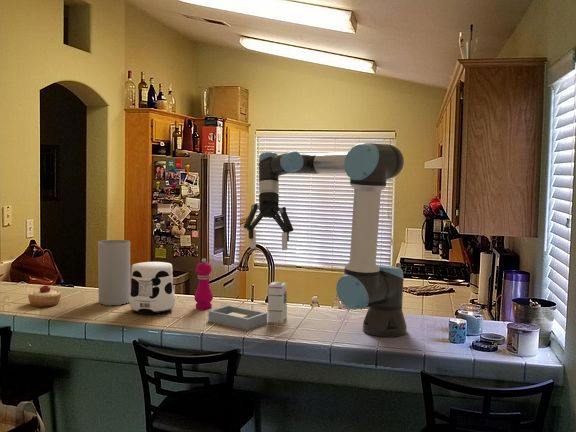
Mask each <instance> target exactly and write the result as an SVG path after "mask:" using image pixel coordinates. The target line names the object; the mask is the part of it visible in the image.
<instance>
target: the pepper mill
mask: <svg viewBox="0 0 576 432" xmlns="http://www.w3.org/2000/svg"><path fill="white" fill-rule="evenodd" d="M195 270H196V273H197V279H198V286H197V289H196V290H195V293H194V301H195V302H196V303H195V309H196V311H197V310H198V311H209V310H212V301H213V299H214V296H213V292H212V290H211V287H210V279H211V274H210V273H211V272H212V266H211V264H210V263H209V262H207V259H206V258H202V259H201V262H199V263H198V264H197V265H196V269H195Z"/></svg>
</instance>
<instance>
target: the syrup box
mask: <svg viewBox="0 0 576 432" xmlns="http://www.w3.org/2000/svg"><path fill="white" fill-rule="evenodd" d="M267 287H268V288H267V289H268V291H267V292H268V294H267V296H268V297H267V298H268V299H267V303H268V304H267V305H268V306H267V307H268V309H267V311H268V312H267V323H277V324H285V322H286V321H287V319H288V316H287V312H288V311H287V310H288V309H287V307H288V306H287V305H288V304H287V303H288V302H287V301H288V299H287V298H288V297H287V294H288V291H287V287H288V285H287V282H282V281H272V282H271V283H269V284H268V285H267Z"/></svg>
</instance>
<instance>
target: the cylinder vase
mask: <svg viewBox="0 0 576 432" xmlns="http://www.w3.org/2000/svg"><path fill="white" fill-rule="evenodd" d="M97 266H98V268H97V269H98V270H97V273H98V274H97V277H98V285H97V286H98V303H99V304H100V305H102V304H103V305H102V306H107V305H117V306H122V305H121V304H124V305H127V304H129V296H130V292H131V241H130V240H128V239H127V240H126V239H106V240H99V241H97ZM126 303H127V304H126Z"/></svg>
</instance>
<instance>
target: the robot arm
mask: <svg viewBox="0 0 576 432" xmlns="http://www.w3.org/2000/svg"><path fill="white" fill-rule="evenodd" d="M404 158H405V157H404V155H403V153H402V151H401V150H400V149H399V148H398V147H397V146H395V145H392V144H388V143H373V142H363V143H357V144H355V145H353V146H352V147H351V148H350V149H349V150H348V151H346V152H328V153H327V152H325V153H324V152H323V153H300V152H298V151H297V150H291V151H287V152H284V153H281V154H278V153H276V152H273V151H267V152H262V153H260V155H259V156H258V192H259V194H258V203H259V204H257V203H254V204H251V208H250V211H249V214H248V216H247V219H246V220H245V222H244V224H243V229H246V231H248V239H249V240H250V242H249V243H250V249H256V247H257V242H256V241H257V240H256V239H257V238H256V237H257V235H256V232H257V230H256V229H255V228H256V227H257V226H258V224H259V223H260V222H261V221H262V219H263V218H269V219H272V220H275V222H276V223H277V225H278V227H280V229H281V230H282V233H281V251H287V250H288V242H289V240H290V233H291V232H293V231H294V227H293V225H292V223H291V220H290V218H289V216H288V213H287V207H286V206H283V207H280V206H279V203H280V195H279V192H280V190H279V189H280V188H279V185H280V184H279V179H280V177H281V176H282V175H283V176H285V175H287V174H311V175H312V174H314V175H315V174H346V176H347V177H348V178H349V185H350V186H351V188H352V189H353V191H354V192H353V206H352V222H351V235H350V250H349V261H348V263H346V264H345V265H344V271H343V275H341V276H340V277H339V279H337V282H336V285H335V289H336V290H335V291H336V294H337V298H338V300H340V301H341V304H342V305H343V306H344V307H346V308H348V309H349V310H364V309H366V308H367V311H366V314H365V317H364V320H363V322H362V331H363V332H364V333H365V334H368V335H372V336H376V337H381V338H382V337H383V338H394V337H395V338H396V337H402V336H405V335H406V334H407V332H408V331H407V329H408V327H407V322H406V319H405V315H404V312H403V297H404V296H403V294H404V280H405V278H404V270H403V269H402V268H400V267H397V266H393V265H385V264H377V252H378V251H377V250H378V238H379V222H380V211H381V210H380V208H381V195H382V194H381V193H382V190H384V189H385V188H386V187H387V180H391V179H393V178H395V177H397V176H398V175H399V174H400V173H401V172H402V170H403V168H404V164H405V159H404ZM257 211H259V213H258V214H257V216H256V213H257ZM255 216H256V217H255ZM254 217H255V219H254Z"/></svg>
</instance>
